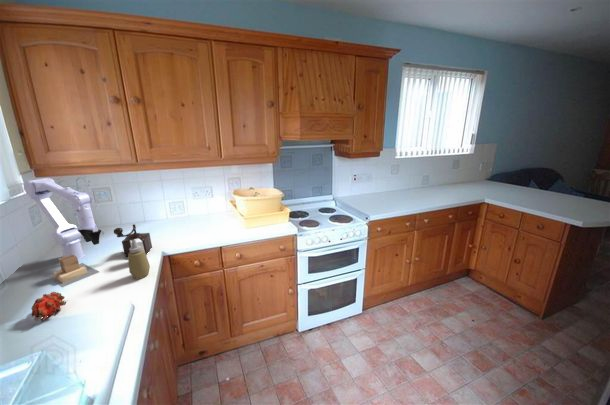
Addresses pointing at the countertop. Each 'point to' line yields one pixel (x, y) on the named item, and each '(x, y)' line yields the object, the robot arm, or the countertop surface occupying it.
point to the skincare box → (138, 243)
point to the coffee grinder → (126, 242)
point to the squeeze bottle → (138, 261)
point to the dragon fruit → (47, 305)
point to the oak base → (70, 274)
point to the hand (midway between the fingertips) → (92, 242)
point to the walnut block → (69, 263)
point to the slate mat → (89, 271)
